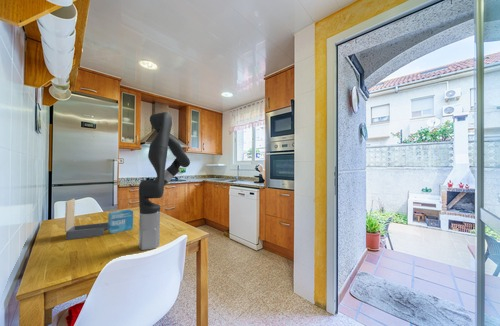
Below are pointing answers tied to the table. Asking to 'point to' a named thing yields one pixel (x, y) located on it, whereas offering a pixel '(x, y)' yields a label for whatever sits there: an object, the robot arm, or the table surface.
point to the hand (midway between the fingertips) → (143, 196)
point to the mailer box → (80, 230)
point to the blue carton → (120, 221)
